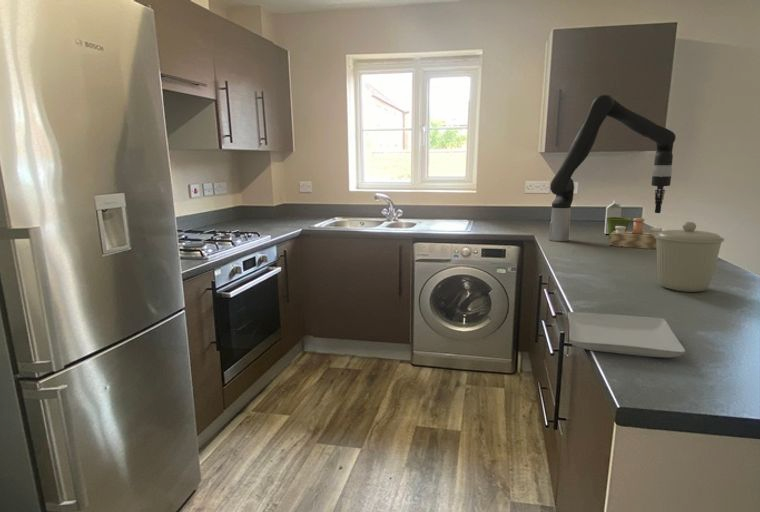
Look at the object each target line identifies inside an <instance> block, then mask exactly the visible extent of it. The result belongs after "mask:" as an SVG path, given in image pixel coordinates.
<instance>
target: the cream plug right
mask: <svg viewBox="0 0 760 512" xmlns="http://www.w3.org/2000/svg"><path fill="white" fill-rule="evenodd" d="M649 231H650V233H651V235H655V234H658V233H659V232H661V231H663V228H661V227H650V228H649Z"/></svg>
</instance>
